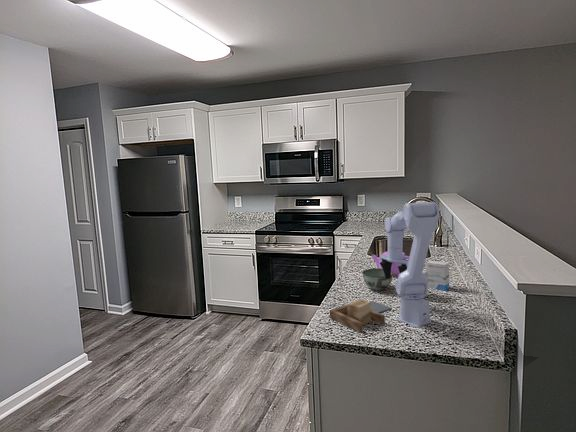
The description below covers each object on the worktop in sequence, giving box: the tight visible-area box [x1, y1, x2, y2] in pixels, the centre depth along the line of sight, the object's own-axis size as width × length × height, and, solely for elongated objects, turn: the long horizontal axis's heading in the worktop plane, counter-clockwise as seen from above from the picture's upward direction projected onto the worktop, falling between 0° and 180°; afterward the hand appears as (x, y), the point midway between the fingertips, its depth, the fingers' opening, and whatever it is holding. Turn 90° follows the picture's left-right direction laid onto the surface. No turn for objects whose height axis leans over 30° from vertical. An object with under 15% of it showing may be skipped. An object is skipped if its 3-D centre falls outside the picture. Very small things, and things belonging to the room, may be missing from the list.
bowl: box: [361, 267, 394, 292], centre depth 163 cm, size 14×13×8 cm
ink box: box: [425, 260, 450, 292], centre depth 161 cm, size 9×5×12 cm, turn 47°
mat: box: [369, 300, 392, 314], centre depth 141 cm, size 10×10×1 cm
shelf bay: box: [329, 304, 386, 333], centre depth 130 cm, size 16×12×3 cm
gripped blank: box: [346, 298, 372, 326], centre depth 128 cm, size 5×7×7 cm
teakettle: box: [371, 250, 410, 277], centre depth 187 cm, size 17×17×12 cm
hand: (395, 280), depth 144 cm, fingers open, 7 cm apart
